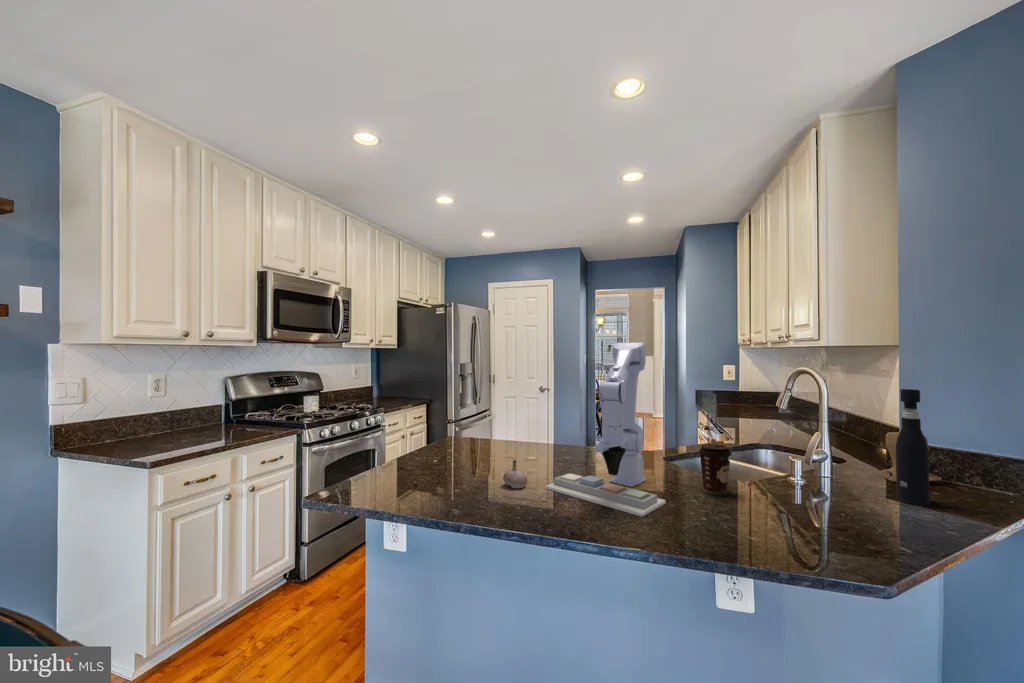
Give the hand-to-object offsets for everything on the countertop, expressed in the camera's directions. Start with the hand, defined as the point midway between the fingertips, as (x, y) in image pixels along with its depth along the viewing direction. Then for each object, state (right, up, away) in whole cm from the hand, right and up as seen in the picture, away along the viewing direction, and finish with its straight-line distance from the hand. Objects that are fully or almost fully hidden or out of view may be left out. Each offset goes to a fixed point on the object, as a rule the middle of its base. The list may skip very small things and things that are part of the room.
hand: (613, 474), depth 117 cm
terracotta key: (0, -5, 0) cm, 5 cm away
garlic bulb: (-27, -7, +11) cm, 30 cm away
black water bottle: (+80, -7, -3) cm, 80 cm away
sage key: (+5, -5, -5) cm, 9 cm away
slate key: (-5, -5, +5) cm, 8 cm away
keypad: (-3, -7, +2) cm, 7 cm away
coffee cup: (+31, -7, +6) cm, 32 cm away
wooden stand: (+96, -7, +16) cm, 98 cm away
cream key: (-10, -6, +10) cm, 15 cm away
